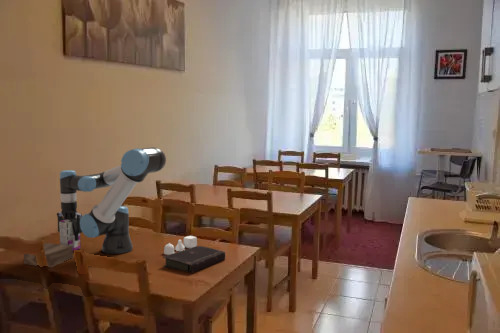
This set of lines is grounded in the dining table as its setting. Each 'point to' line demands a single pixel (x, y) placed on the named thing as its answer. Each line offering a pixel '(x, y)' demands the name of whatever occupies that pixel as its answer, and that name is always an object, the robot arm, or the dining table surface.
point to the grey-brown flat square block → (52, 254)
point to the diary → (194, 259)
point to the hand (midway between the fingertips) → (70, 246)
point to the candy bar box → (67, 234)
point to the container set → (181, 245)
